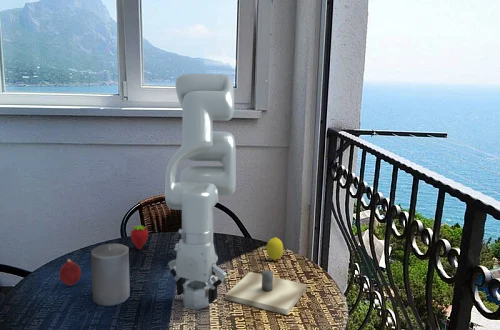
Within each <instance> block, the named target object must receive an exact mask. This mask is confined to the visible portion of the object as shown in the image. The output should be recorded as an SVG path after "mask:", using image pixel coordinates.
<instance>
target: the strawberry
mask: <svg viewBox="0 0 500 330" xmlns="http://www.w3.org/2000/svg"><path fill="white" fill-rule="evenodd" d="M148 237H149V232H148V227H147V226H144V224H143V225H140V224H138V225H136V226H133V227H132V230H131V231H130V238H131V242H132V243H133V244H134V246H135V247H136V248H137V249H138V250H141V249H142V248H143V247H144V245H145V244H146V242H147V240H148Z"/></svg>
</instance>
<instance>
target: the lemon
mask: <svg viewBox="0 0 500 330" xmlns="http://www.w3.org/2000/svg"><path fill="white" fill-rule="evenodd" d="M266 254H267V256H268V257H269V258H270V259H271V260H273V261H276V260H277V259H280V258H281V257H282V256H283V254H284V244H283V241H282V240H280V238H278V237H276V236H275V237H273V238H271V239H269V240H268V242H267V244H266Z"/></svg>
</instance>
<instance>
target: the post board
mask: <svg viewBox="0 0 500 330" xmlns="http://www.w3.org/2000/svg"><path fill="white" fill-rule="evenodd" d="M261 273H262V274H261ZM261 273H256V272H251V271H249V272H247V274H246V275H245V276H244V277H243V278H242V279H241V280H240V281H238V282H237V283H236V284H234V286H233V287H231V289H229V291H227V292H225V297H224V298H225V301H227V300H228V301H230V302H234V303H239V304H243V305H246V306H250V307H254V308H259V309H262V310H266V311H270V312H274V313H276V314H277V313H278V314H283V315H286V316H287V315H289V314H290V312H291V310H292V309H293V308H294V307H295V305H296V304H297V302H299V300H300V299H301V297H302V296H303V295H304V293H305V292H306V290H307V289H308V285H307V284H306V283H301V282H299V281H294V280H293V281H292V280H288V279H283V278H279V277H275V276H274V272H273V271H272V270H268V269H266V270H262V272H261Z"/></svg>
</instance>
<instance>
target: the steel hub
mask: <svg viewBox="0 0 500 330" xmlns="http://www.w3.org/2000/svg"><path fill="white" fill-rule="evenodd" d="M209 289H210V286H209V285H208V283H207V282H205V283H204V282H198V281H194V280H189V279H187V280H186V282H185V283H184V284H183V293H182V303H183V306H184V308H188V309H191V310H200V309H205V308H207V307H208V306H209V305H210V304H211V303H209V302H208V290H209Z"/></svg>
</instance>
